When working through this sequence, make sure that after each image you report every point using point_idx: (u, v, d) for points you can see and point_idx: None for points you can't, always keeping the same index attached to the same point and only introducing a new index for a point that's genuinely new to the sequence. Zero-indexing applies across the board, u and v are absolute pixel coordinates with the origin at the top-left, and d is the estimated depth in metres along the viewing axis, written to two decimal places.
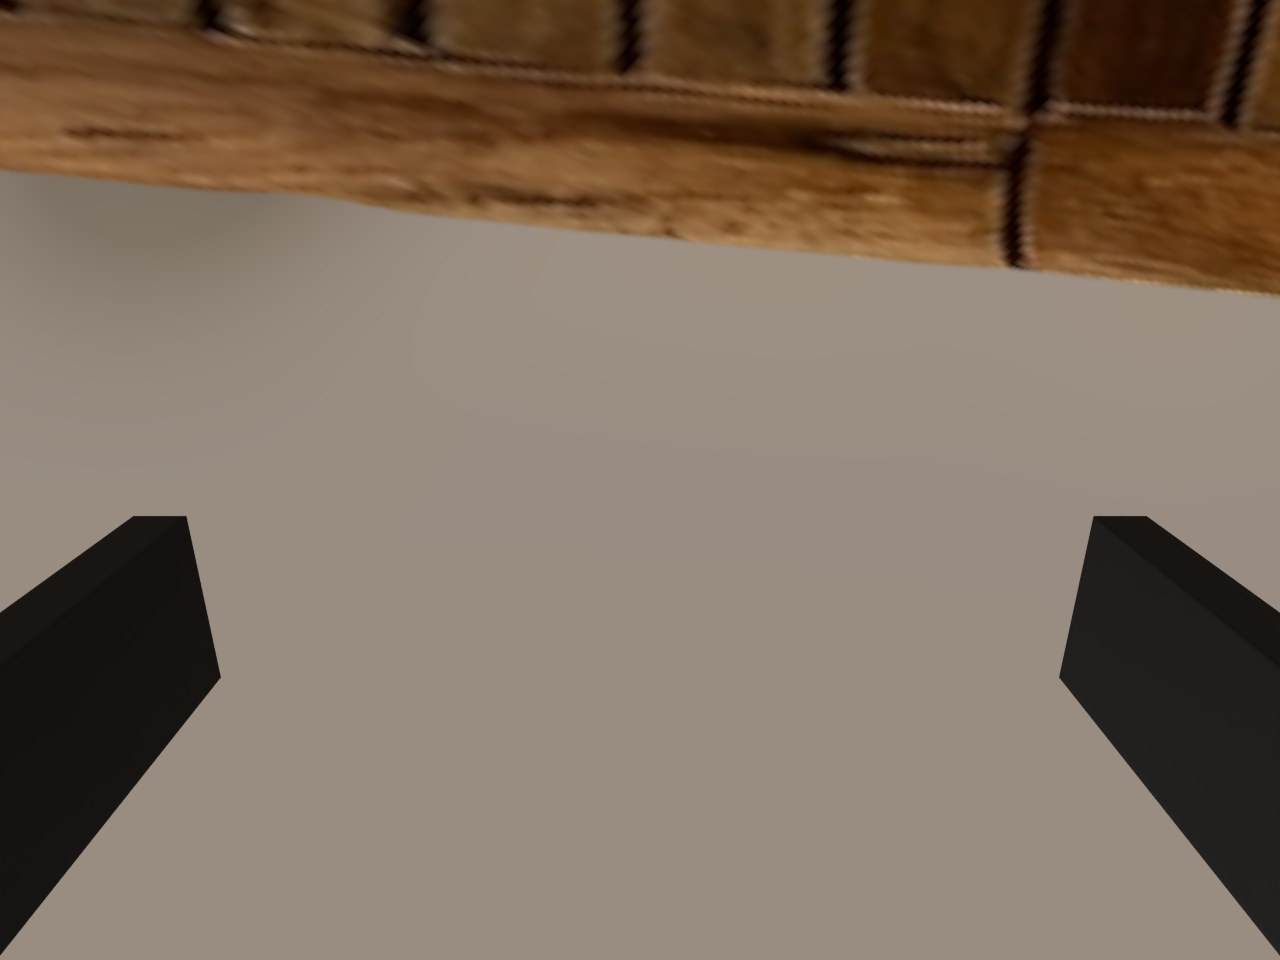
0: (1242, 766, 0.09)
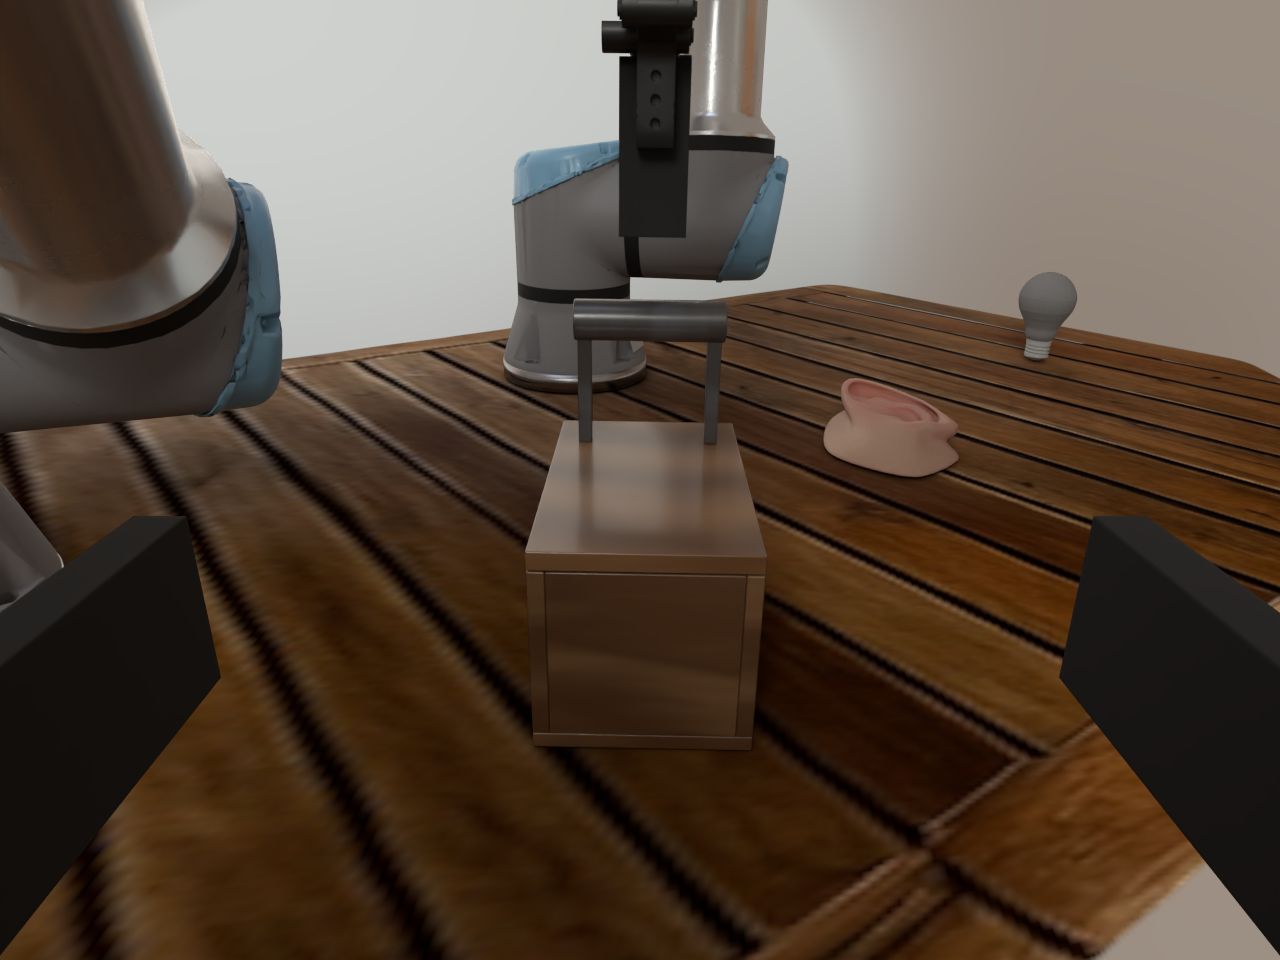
0: (1243, 767, 0.09)
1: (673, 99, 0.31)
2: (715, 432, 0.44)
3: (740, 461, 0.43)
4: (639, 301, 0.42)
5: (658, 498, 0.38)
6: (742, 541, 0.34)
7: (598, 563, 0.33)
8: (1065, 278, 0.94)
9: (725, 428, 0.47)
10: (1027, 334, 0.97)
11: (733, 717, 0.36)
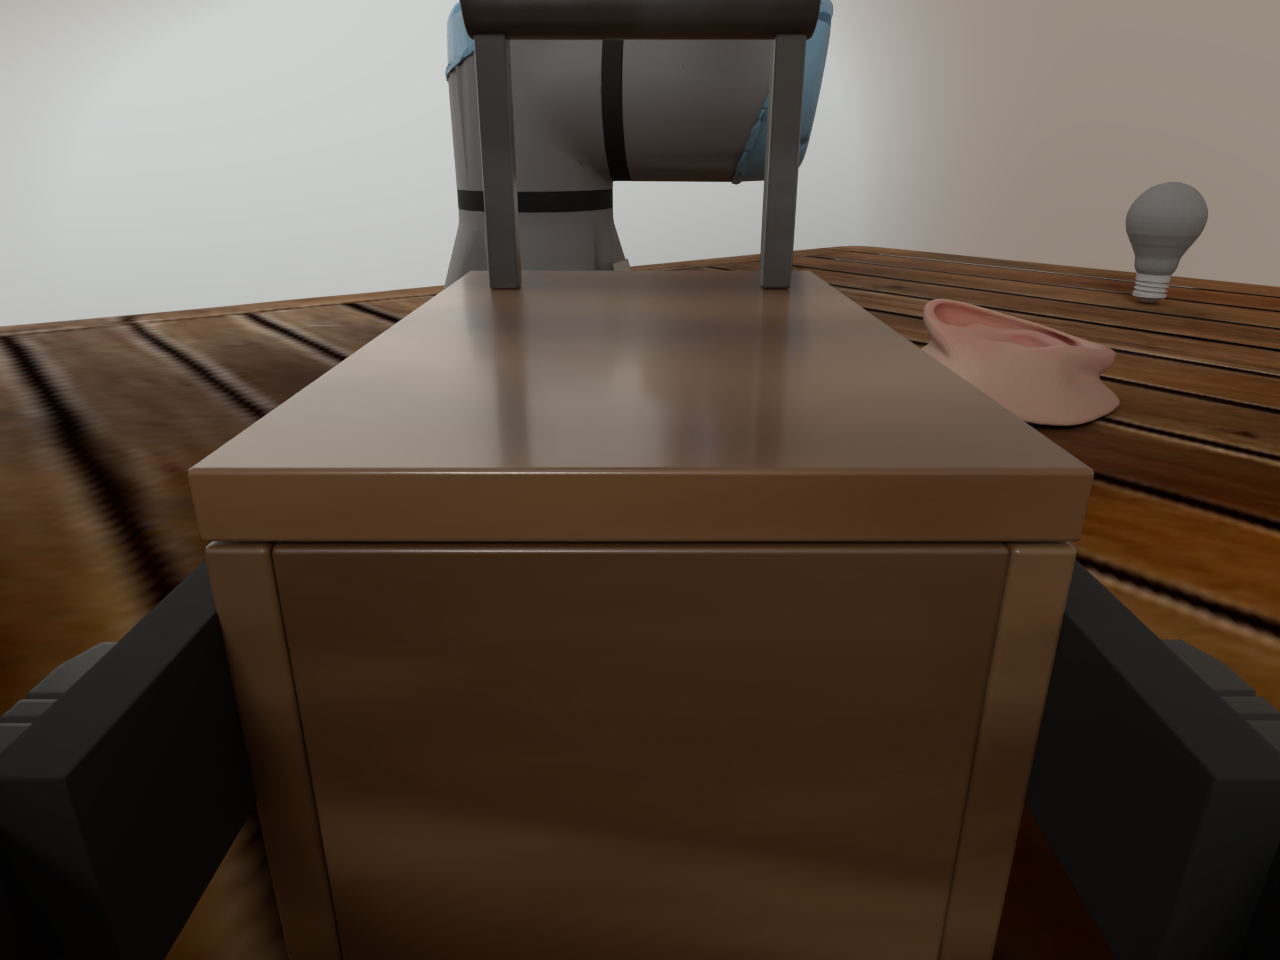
0: None
1: None
2: (789, 260, 0.20)
3: (857, 306, 0.18)
4: None
5: (672, 354, 0.14)
6: (972, 432, 0.10)
7: (464, 510, 0.09)
8: (1192, 188, 0.71)
9: (800, 275, 0.23)
10: (1139, 267, 0.74)
11: None
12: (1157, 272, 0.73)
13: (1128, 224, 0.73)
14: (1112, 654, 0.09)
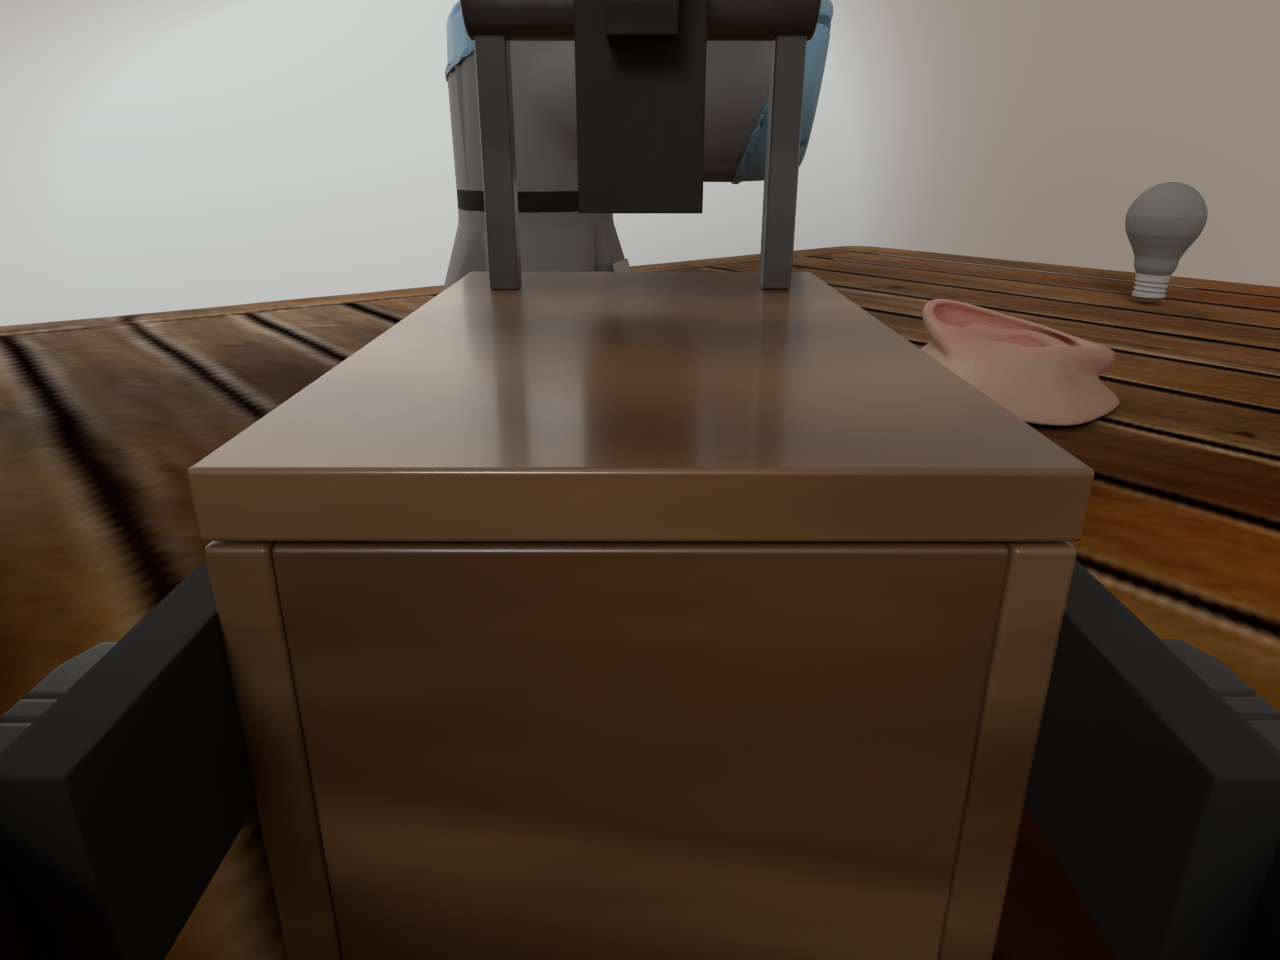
0: None
1: None
2: (789, 261, 0.20)
3: (857, 307, 0.18)
4: None
5: (672, 355, 0.14)
6: (972, 432, 0.10)
7: (464, 509, 0.09)
8: (1192, 188, 0.71)
9: (800, 276, 0.23)
10: (1138, 267, 0.74)
11: None
12: (1156, 272, 0.73)
13: (1127, 224, 0.73)
14: (1112, 654, 0.09)
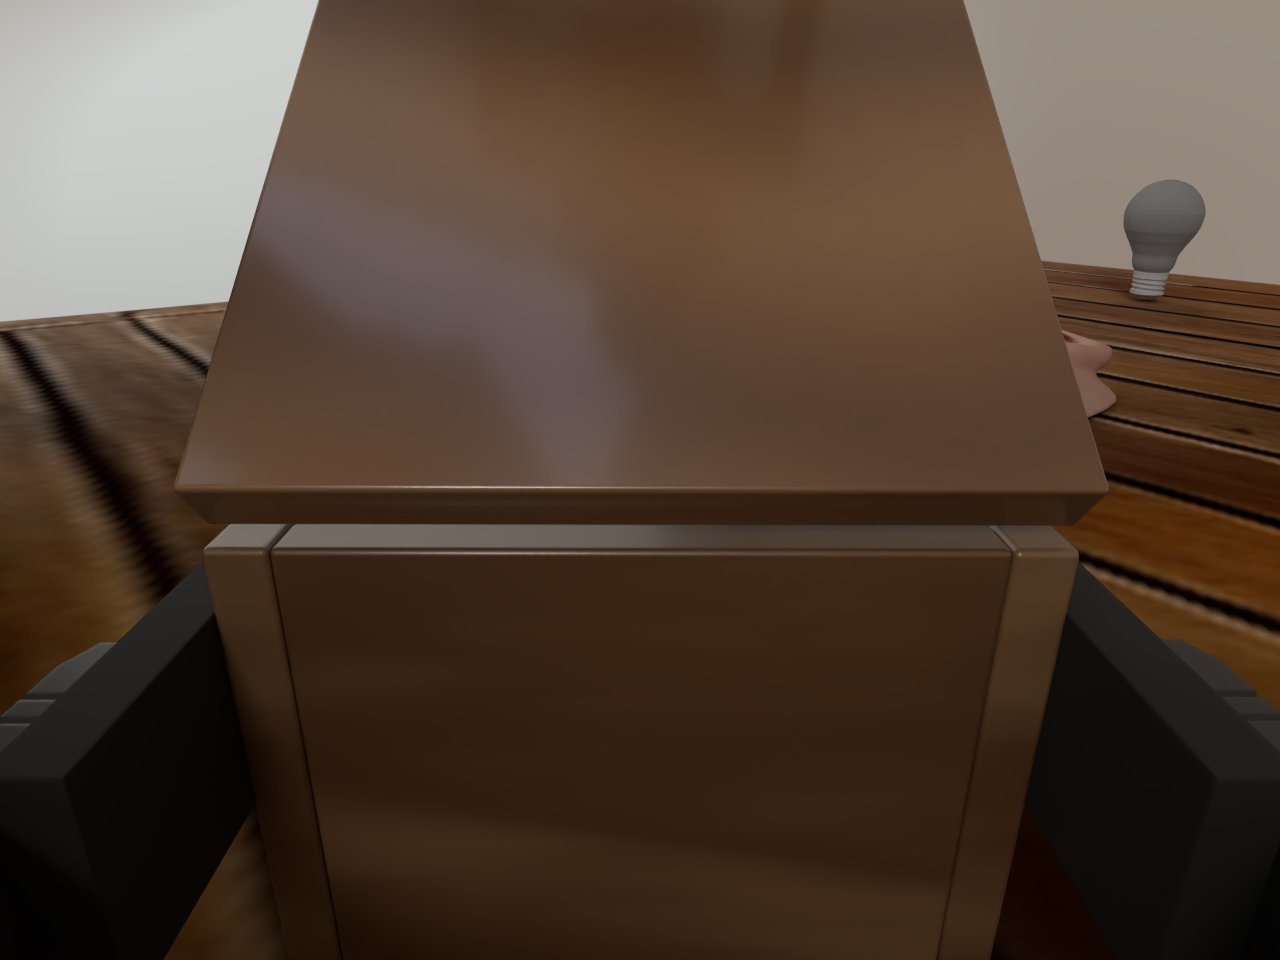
0: None
1: None
2: None
3: None
4: None
5: (681, 130, 0.11)
6: (1003, 388, 0.09)
7: (465, 511, 0.09)
8: (1190, 185, 0.71)
9: None
10: (1136, 264, 0.74)
11: None
12: (1154, 269, 0.73)
13: (1126, 221, 0.73)
14: (1113, 654, 0.09)
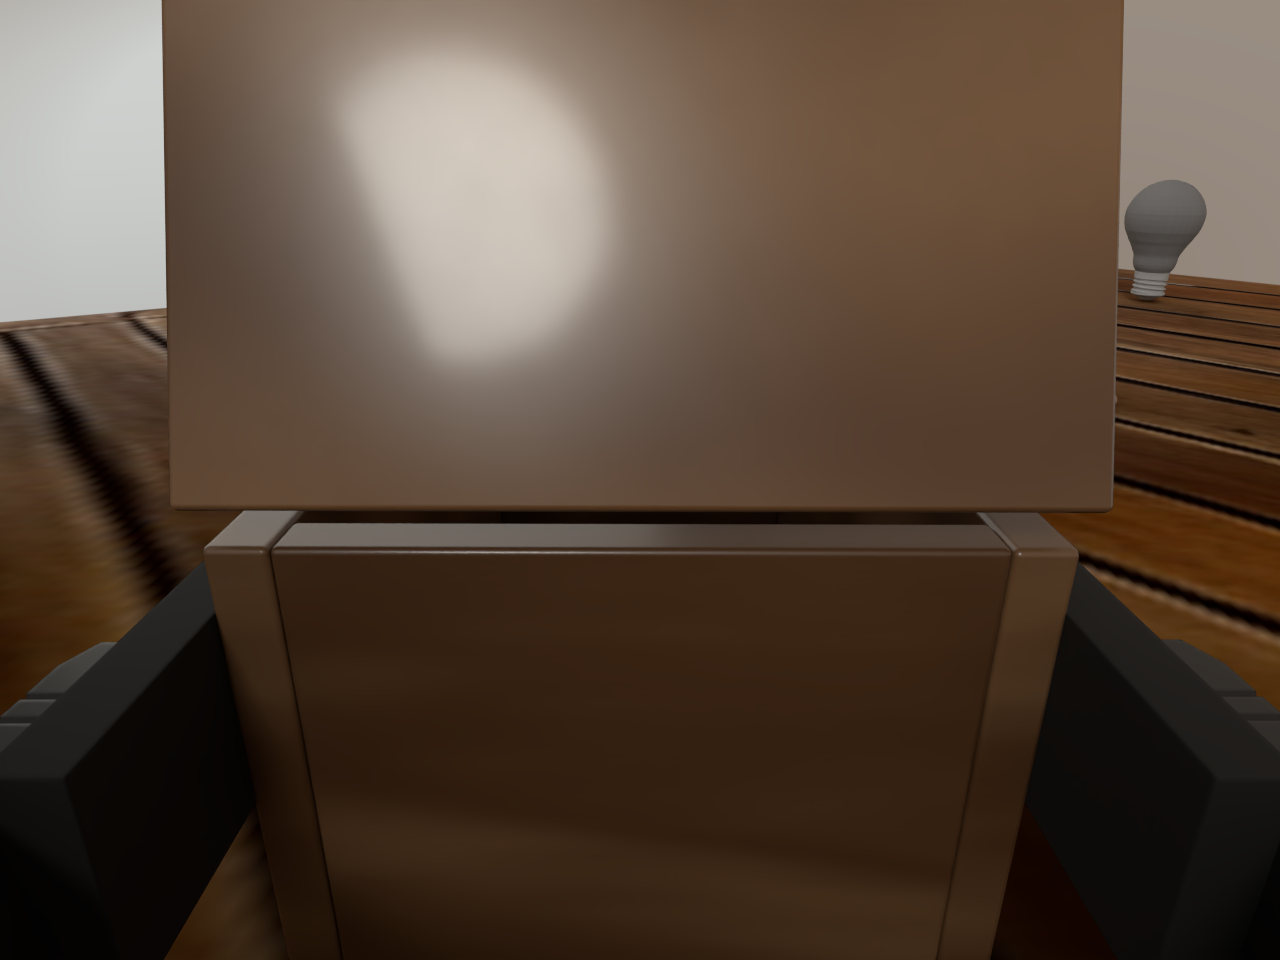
0: None
1: None
2: None
3: None
4: None
5: None
6: (1032, 387, 0.08)
7: None
8: (1191, 186, 0.71)
9: None
10: (1137, 265, 0.74)
11: None
12: (1155, 270, 0.73)
13: (1127, 222, 0.73)
14: (1113, 654, 0.09)
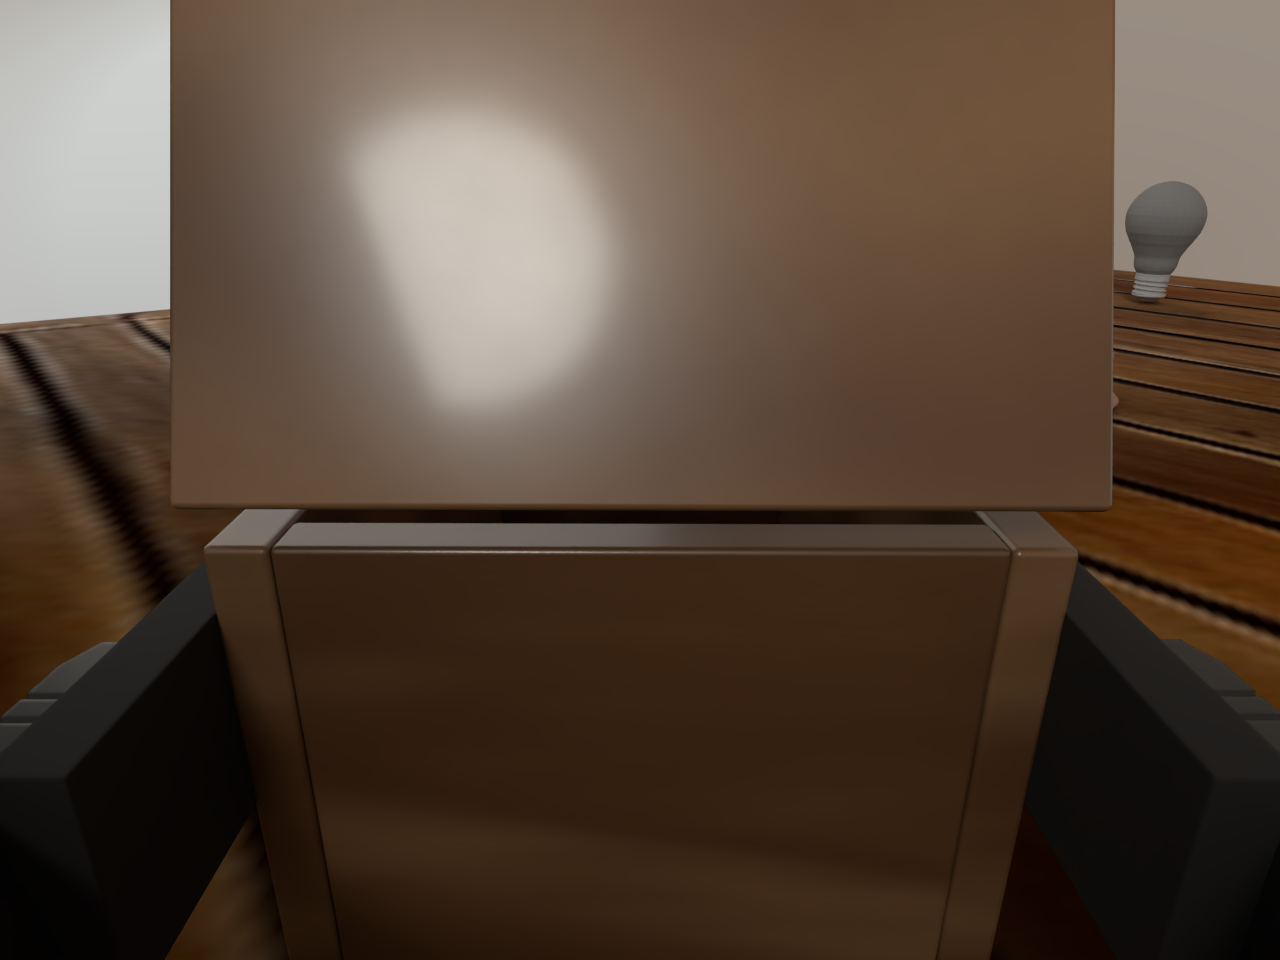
0: None
1: None
2: None
3: None
4: None
5: None
6: (1031, 385, 0.09)
7: None
8: (1192, 187, 0.71)
9: None
10: (1138, 266, 0.74)
11: None
12: (1156, 271, 0.73)
13: (1127, 223, 0.73)
14: (1112, 654, 0.09)
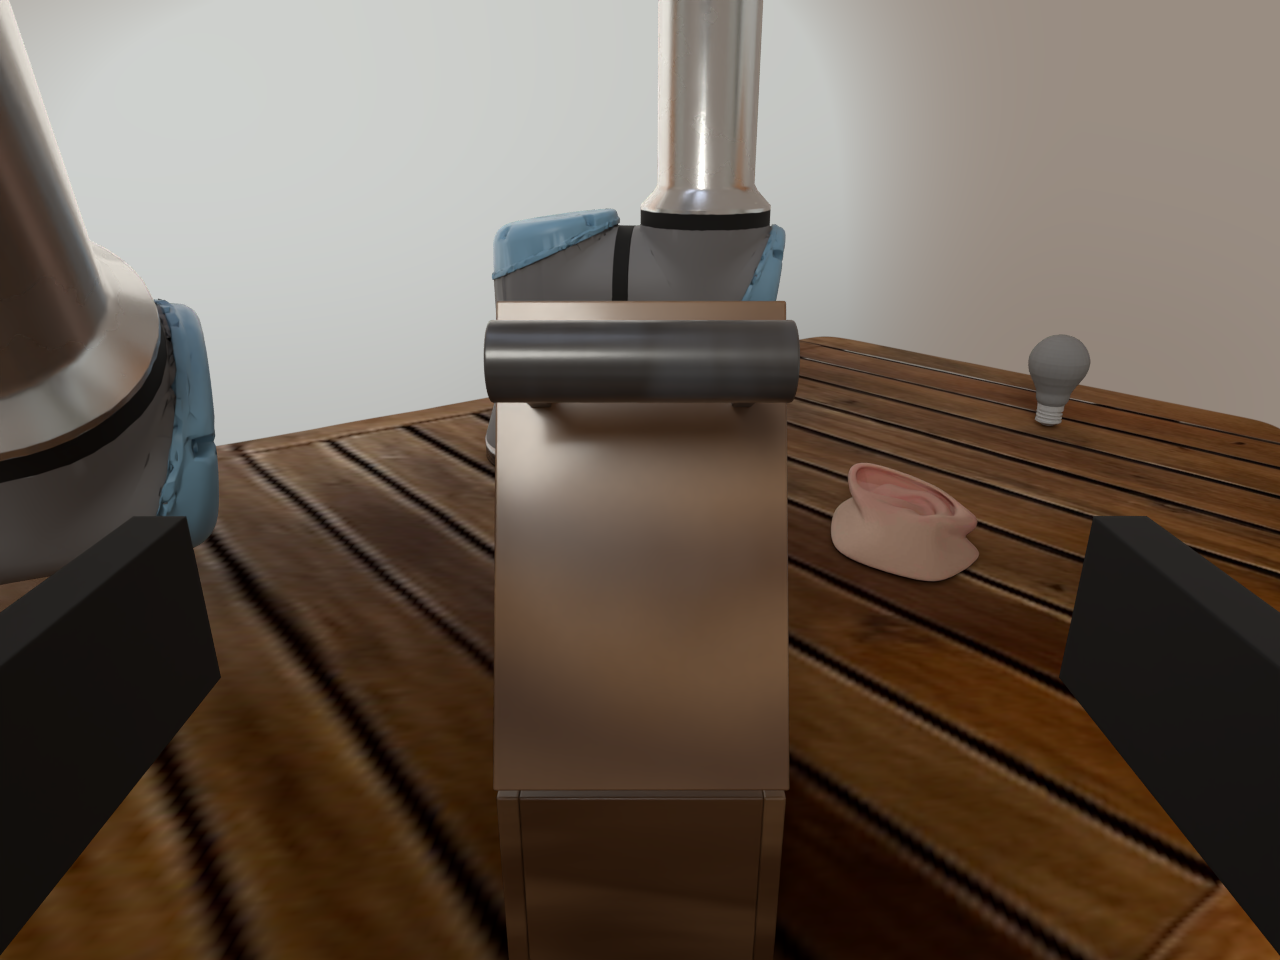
0: (1242, 765, 0.09)
1: None
2: (752, 405, 0.27)
3: (784, 479, 0.28)
4: (619, 364, 0.20)
5: (657, 623, 0.27)
6: (762, 751, 0.27)
7: None
8: (1077, 341, 0.89)
9: None
10: (1038, 399, 0.93)
11: (749, 951, 0.30)
12: (1052, 404, 0.92)
13: (1029, 366, 0.92)
14: None
